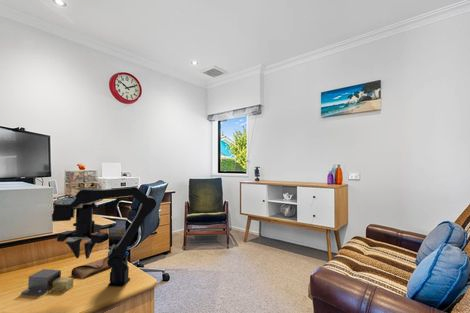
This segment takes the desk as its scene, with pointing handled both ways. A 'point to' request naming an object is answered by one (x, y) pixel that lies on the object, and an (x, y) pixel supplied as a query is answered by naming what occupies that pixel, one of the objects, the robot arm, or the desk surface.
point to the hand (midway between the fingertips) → (82, 258)
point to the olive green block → (62, 284)
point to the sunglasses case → (90, 269)
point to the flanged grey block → (41, 281)
